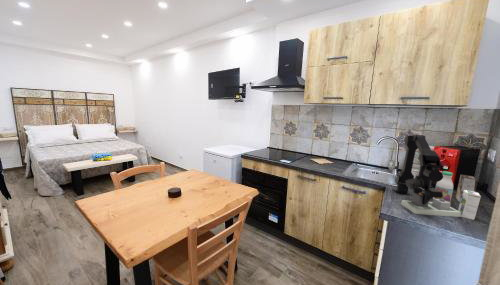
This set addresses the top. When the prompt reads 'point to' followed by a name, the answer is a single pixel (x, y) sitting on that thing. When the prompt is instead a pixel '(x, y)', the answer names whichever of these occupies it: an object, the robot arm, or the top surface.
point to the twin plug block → (441, 204)
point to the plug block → (418, 200)
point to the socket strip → (429, 209)
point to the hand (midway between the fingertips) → (419, 202)
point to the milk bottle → (445, 186)
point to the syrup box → (469, 204)
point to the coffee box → (466, 185)
